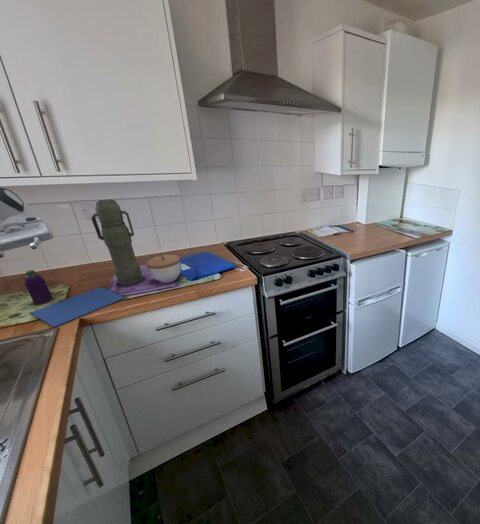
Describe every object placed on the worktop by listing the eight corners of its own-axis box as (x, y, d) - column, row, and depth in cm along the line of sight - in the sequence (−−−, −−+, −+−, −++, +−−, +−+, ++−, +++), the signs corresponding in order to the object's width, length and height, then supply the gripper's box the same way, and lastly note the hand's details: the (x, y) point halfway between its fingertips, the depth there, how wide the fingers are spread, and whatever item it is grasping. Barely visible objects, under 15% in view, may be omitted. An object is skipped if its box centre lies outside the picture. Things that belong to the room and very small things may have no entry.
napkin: (54, 327, 99) (53, 326, 98) (30, 313, 106) (30, 312, 106) (125, 297, 116) (125, 297, 116) (101, 287, 124) (100, 286, 124)
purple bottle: (37, 305, 111) (23, 275, 106) (31, 302, 113) (17, 272, 108) (55, 299, 115) (42, 270, 110) (49, 296, 117) (36, 267, 112)
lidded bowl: (176, 285, 126) (170, 261, 122) (145, 286, 125) (138, 262, 121) (189, 272, 138) (184, 250, 133) (160, 273, 137) (154, 250, 133)
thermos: (114, 281, 129) (86, 200, 116) (146, 274, 136) (123, 197, 122) (114, 289, 123) (84, 204, 109) (147, 281, 129) (124, 200, 115)
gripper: (-27, 231, 109) (-30, 256, 102) (45, 215, 118) (47, 236, 111) (-14, 244, 113) (-15, 268, 106) (54, 227, 123) (57, 248, 116)
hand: (17, 252), depth 109 cm, fingers open, 8 cm apart
